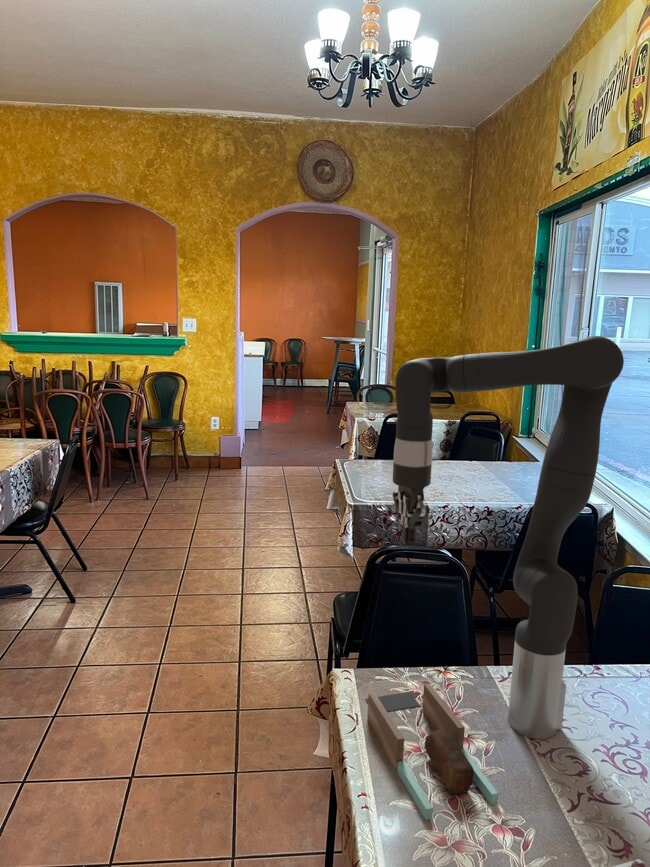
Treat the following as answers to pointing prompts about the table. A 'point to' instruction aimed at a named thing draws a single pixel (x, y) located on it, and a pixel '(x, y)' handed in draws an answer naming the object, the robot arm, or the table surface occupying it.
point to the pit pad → (398, 701)
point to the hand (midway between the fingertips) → (408, 543)
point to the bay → (423, 801)
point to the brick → (449, 761)
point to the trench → (433, 711)
